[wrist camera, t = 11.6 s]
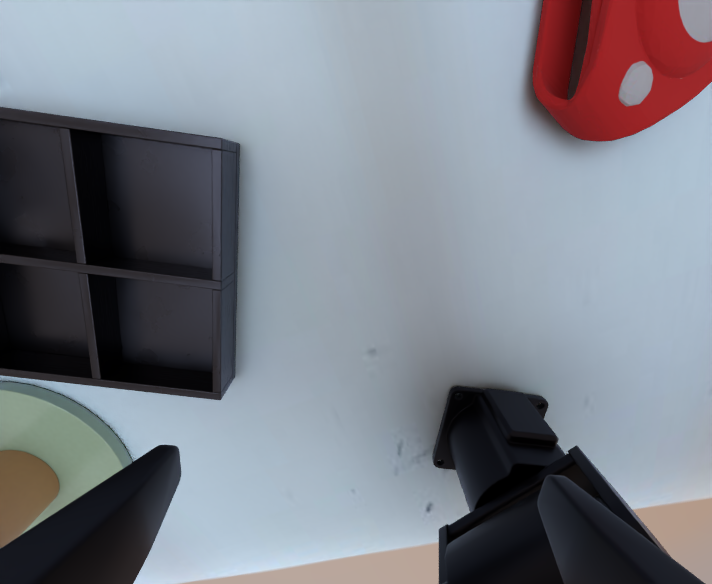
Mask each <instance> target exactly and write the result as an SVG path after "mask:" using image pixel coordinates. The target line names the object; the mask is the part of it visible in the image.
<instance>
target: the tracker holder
mask: <svg viewBox="0 0 712 584" xmlns="http://www.w3.org/2000/svg"><path fill="white" fill-rule="evenodd" d="M582 1H583V0H543V6H542V12H541V19H540V26H539V32H538V39H537V45H536V52H535V59H534V65H533V87H534V91H535V94H536V97H537V98H538V100H539V101H540V102H541V103H542V105H543V106H544V107H545V108H546V109H547V110H548V112H549V113H550V114H551V115H552V116H553V117H554V119H555V120H556V121H557V122H558V123H559V124H560V126H561V127H562V128H563V129H564V130H566V131H567V132H568V133H569V134H571V135H573V136H574V137H576V138H579V139H582V140H589V141H612V140H617V139H620V138H623V137H627V136H630V135H633V134H636V133H638V132H640V131H642V130H644V129H646V128H648V127H650V126H652V125H654V124H655V123H657V122H659V121H660V120H662V119H663V118H665V117H667V116H668V115H670V114H671V113H673V112H675V111H676V110H678V109H679V108H681V107H682V106H684V105H685V104H686V103H688V102H689V101H690V100H691V99H693V98H694V97H695V96H697V95H698V94H699V93H700V92H701V91H702V90H703V89H704V88H705V87H706V86H707V85H709V84H710V83H711V82H712V0H592V5H591V14H590V24H589V33H588V42H587V47H586V51H585V56H584V60H583V65H582V69H581V74H580V78H579V83H578V86H577V89H576V92H575V95H574V96H573V97H572V98H571V99H570V100H567V97H568V87H569V81H570V74H571V68H572V62H573V56H574V50H575V44H576V38H577V32H578V25H579V19H580V13H581V7H582Z"/></svg>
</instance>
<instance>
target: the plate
mask: <svg viewBox="0 0 712 584" xmlns="http://www.w3.org/2000/svg"><path fill="white" fill-rule="evenodd" d="M4 450H17V451H22V452H26V453H29V454H31V455H34V456H36V457H38V458H39V459H41V460H42V461H44V462H45V463H46V464H48V465H49V466H50V467H51V468H52V470H53V471H54V472H55V474H56V476H57V478H58V481H59V492H58V495H57V497H56V498H55V499H54V500H53V501H52V502H51V503H50V504H49V506H48V507H47V508H46V509H45V510H44V511H43V512H42V513H41V514H40V515H39V516H38V517H37V518H36V519H35V520H34V521H33V522H32V524H31V525H30V526H29V527H28V528H27V529H26V530H25V531H24V532H23V533H25V532H26V531H28V530H30V529H31V528H33V527H34V526H36V525H37V524H39V523H40V522H42V521H43V520H45V519H46V518H48V517H49V516H51V515H53V514H54V513H56V512H57V511H59V510H60V509H62V508H63V507H65V506H66V505H68V504H69V503H71V502H73V501H74V500H76V499H77V498H79V497H80V496H82V495H83V494H85V493H86V492H88V491H89V490H91V489H92V488H94V487H96V486H97V485H99V484H100V483H102V482H103V481H105V480H106V479H108V478H109V477H111V476H112V475H114V474H115V473H117V472H119V471H120V470H122V469H123V468H125V467H126V466H128V465H129V464H131V463H132V460H131V458H130V456H129V454H128V452H127V450H126V448H125V447H124V445H123V444H122V442H121V441H120V440H119V438H118V437H117V436H116V435H115V434H114V432H113V431H112V430H111V429H110V428H109V427H108V426H107V425H106V424H105V423H104V422H103V421H101V420H100V419H99V418H98V417H97V416H95V415H94V414H93V413H91V412H90V411H89V410H87V409H86V408H84V407H82V406H81V405H79V404H77V403H76V402H74V401H72V400H70V399H68V398H66V397H64V396H62V395H60V394H57V393H54V392H52V391H49V390H46V389H43V388H40V387H36V386H32V385H28V384H22V383H16V382H1V381H0V451H4ZM23 533H22V534H23ZM22 534H21V535H22Z"/></svg>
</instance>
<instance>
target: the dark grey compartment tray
mask: <svg viewBox="0 0 712 584" xmlns="http://www.w3.org/2000/svg"><path fill="white" fill-rule="evenodd" d="M239 155H240V144H239V143H236V142H233V141H229V140H226V139H222V138H217V137H209V136H202V135H195V134H188V133H181V132H174V131H167V130H160V129H153V128H146V127H139V126H132V125H125V124H118V123H110V122H103V121H96V120H89V119H82V118H75V117H68V116H61V115H54V114H47V113H40V112H33V111H26V110H18V109H11V108H4V107H0V375H3V376H11V377H20V378H29V379H38V380H47V381H56V382H64V383H73V384H82V385H91V386H100V387H109V388H117V389H126V390H135V391H144V392H153V393H161V394H170V395H179V396H188V397H197V398H206V399H214V400H221V399H222V397H223V395H224V394H225V392H226V391H227V389H228V387H229V386H230V384H231V383H232V381H233V379H234V378H235V351H236V302H237V253H238V204H239Z"/></svg>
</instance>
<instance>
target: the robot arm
mask: <svg viewBox="0 0 712 584" xmlns="http://www.w3.org/2000/svg"><path fill="white" fill-rule="evenodd" d="M457 393H460V395H459V396H455V394H457ZM539 403H541V404H540V405H537V404H539ZM547 408H548V402H547V401H546V400H545V399H544V398H543V397H541V396H536V395H527V394H524V393H521V392H513V391H504V390H496V389H476V388H468V387H459V386H457V387H453V388H452V389H451V390H450V392H449V395H448V399H447V403H446V407H445V411H444V415H443V418H442V422H441V426H440V430H439V434H438V438H437V442H436V446H435V449H434V453H433V458H432V459H433V463H434V465H435V466H436V467H438V468H444V469H453V470H456V471H457V474H458V477H459V480H460V483H461V486H462V489H463V492H464V495H465V498H466V501H467V504H468V507H469V510H470V513H469V514H467V515H466V516H464V517H462V518H461V519H459V520H457V521H456V522H454V523H452V524H451V525H448V524H447V525H445V526H443V527H442V528H440V529H439V584H705V583H703V582H702V581H701V580H700V579H698V578H697V577H696V576H694V575H693V574H692V573H691V572H689V571H688V570H687V569H685V568H684V567H683V566H681V565H680V564H679V563H677V562H676V561H675V560H673V559H672V558H671V557H670V555H669V554H668V553H667V551H666V550H665V549H664V548H663V546H662V545H661V544H660V543H659V541H658V540H657V539H656V538H655V536H654V535H653V534H652V533H651V532H650V531H649V529H648V528H647V527H646V526H645V525H644V523H643V522H642V521H641V520H640V519H639V517H638V516H637V515H636V514H635V513H634V511H633V510H632V509H631V508H630V507H629V505H628V504H627V503H626V502H625V501H624V499H623V498H622V497H621V496H620V495H619V494H618V492H617V491H616V490H615V489H614V488H613V487H612V485H611V484H610V483H609V482H608V481H607V480H606V479H605V477H604V476H603V475H602V474H601V473H600V472H599V470H598V469H597V468H596V467H595V466H594V465H593V464H592V462H591V461H590V460H589V459H588V458H587V457H586V455H585V454H584V453H583V452H582V451H581V450H580V449H579V447H578V446H575V447H573V448H572V449H570V450H569V451H568V452H569V453H568V454H566V455H565V454H564V452H563V451H562V450H561V448H560V447H559V446H558V444H557V442H558V437H557V436H556V435H555V433H554V432H553V431H552V429H551V428H550V427H549V426H548V424H547V423H546V422H545V420H544V416H545V413H546V411H547ZM438 460H441V461H438ZM180 477H181V465H180V454H179V449H178V447H177V446H173V445H159V446H157V447H155V448H154V449H152V450H151V451H149V452H148V453H146V454H145V455H143V456H142V457H140V458H138V459H137V460H135V461H134V462H132V463H131V464H129V465H128V466H126V467H125V468H123V469H122V470H120V471H119V472H117V473H115V474H114V475H112V476H111V477H109V478H108V479H106V480H105V481H103V482H102V483H100V484H99V485H97V486H96V487H94V488H92V489H91V490H89V491H88V492H86V493H85V494H83V495H82V496H80V497H79V498H77V499H76V500H74V501H73V502H71V503H69V504H68V505H66V506H65V507H63V508H62V509H60V510H59V511H57V512H56V513H54V514H53V515H51V516H49V517H48V518H46V519H45V520H43V521H42V522H40V523H39V524H37V525H36V526H34V527H33V528H31V529H30V530H28V531H26V532H25V533H23V534H22V535H20V536H19V537H17V538H16V539H14V540H13V541H11V542H10V543H8V544H7V545H5V546H3V547H2V548H0V584H133V583H134V581H135V579H136V577H137V575H138V573H139V571H140V570H141V568H142V566H143V564H144V562H145V560H146V558H147V556H148V554H149V552H150V550H151V547H152V545H153V543H154V541H155V538H156V536H157V534H158V531H159V529H160V526H161V524H162V522H163V519H164V517H165V515H166V512H167V510H168V508H169V505H170V503H171V501H172V498H173V496H174V493H175V491H176V489H177V486H178V484H179V481H180Z"/></svg>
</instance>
